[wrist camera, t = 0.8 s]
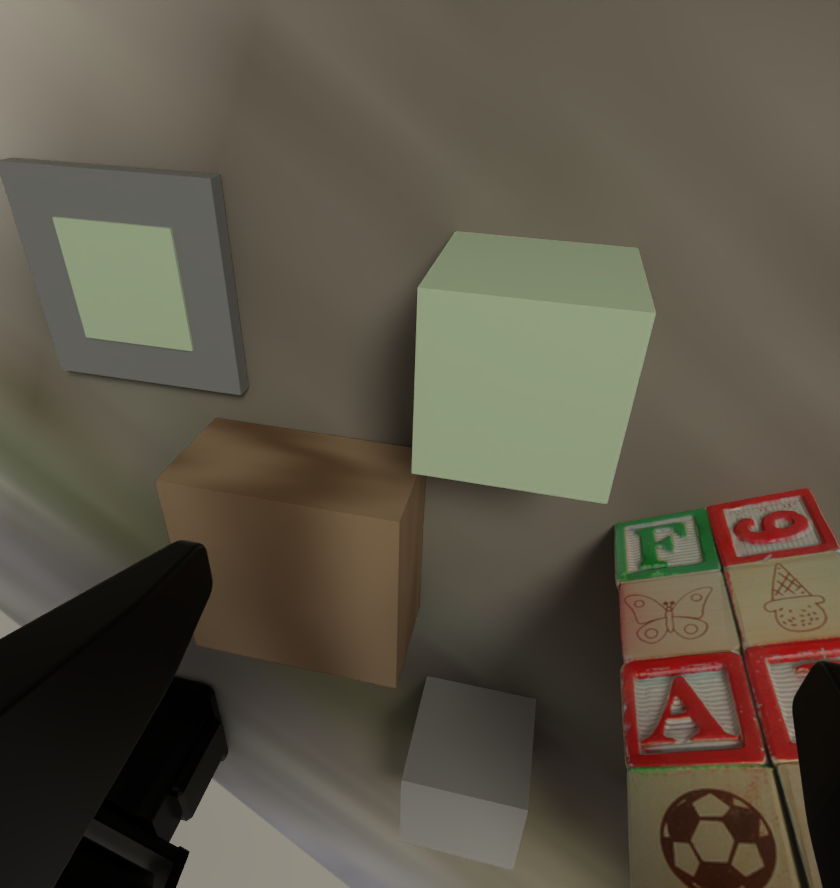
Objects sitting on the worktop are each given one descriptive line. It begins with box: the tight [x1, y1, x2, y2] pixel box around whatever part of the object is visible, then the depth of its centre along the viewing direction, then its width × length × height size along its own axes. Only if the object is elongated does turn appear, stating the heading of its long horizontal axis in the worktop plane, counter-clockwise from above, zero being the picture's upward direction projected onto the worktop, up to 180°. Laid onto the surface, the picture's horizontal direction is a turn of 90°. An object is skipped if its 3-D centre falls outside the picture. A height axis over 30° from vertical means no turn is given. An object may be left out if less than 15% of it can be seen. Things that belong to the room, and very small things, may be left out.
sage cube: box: [412, 231, 656, 504], centre depth 16 cm, size 5×5×5 cm
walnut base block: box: [155, 418, 426, 688], centre depth 23 cm, size 8×8×4 cm
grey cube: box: [399, 676, 536, 870], centre depth 27 cm, size 5×5×5 cm
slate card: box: [0, 158, 249, 395], centre depth 20 cm, size 7×7×1 cm
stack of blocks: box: [614, 489, 840, 888], centre depth 20 cm, size 21×6×12 cm, turn 24°
